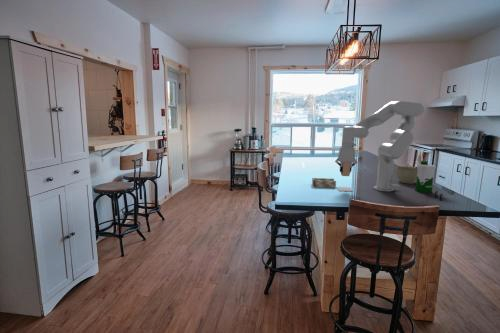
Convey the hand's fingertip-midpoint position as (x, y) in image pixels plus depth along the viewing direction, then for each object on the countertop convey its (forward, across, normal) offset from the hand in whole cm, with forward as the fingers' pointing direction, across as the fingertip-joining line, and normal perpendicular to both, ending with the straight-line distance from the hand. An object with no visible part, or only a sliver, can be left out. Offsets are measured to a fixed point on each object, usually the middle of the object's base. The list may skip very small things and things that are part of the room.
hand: (345, 172), depth 194 cm
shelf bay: (+12, +12, -9) cm, 19 cm away
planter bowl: (+11, -52, -29) cm, 61 cm away
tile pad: (+12, 0, 0) cm, 12 cm away
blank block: (+2, 0, 0) cm, 2 cm away
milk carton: (+11, -52, -3) cm, 54 cm away
